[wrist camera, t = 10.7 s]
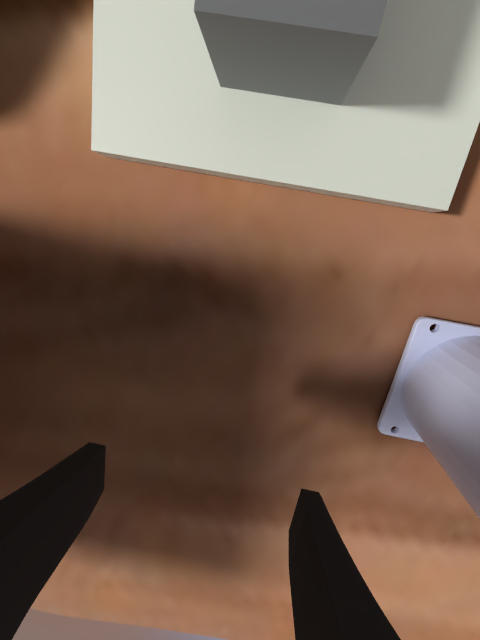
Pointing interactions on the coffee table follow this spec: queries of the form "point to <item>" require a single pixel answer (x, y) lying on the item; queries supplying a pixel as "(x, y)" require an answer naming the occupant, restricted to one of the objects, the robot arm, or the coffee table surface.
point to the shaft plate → (294, 106)
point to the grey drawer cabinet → (290, 44)
